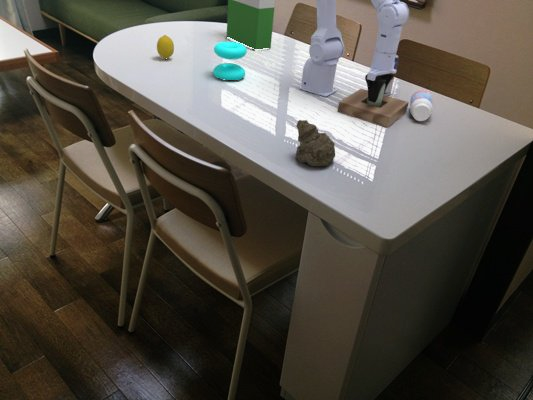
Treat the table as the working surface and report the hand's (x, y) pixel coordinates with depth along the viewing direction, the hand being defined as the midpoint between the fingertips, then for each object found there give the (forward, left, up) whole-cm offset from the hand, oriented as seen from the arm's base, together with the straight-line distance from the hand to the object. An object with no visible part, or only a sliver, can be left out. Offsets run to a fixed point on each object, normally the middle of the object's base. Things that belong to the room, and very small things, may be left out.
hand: (375, 99), depth 138 cm
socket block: (0, 0, -4) cm, 4 cm away
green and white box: (-64, +29, -4) cm, 70 cm away
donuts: (-46, -7, -4) cm, 47 cm away
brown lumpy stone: (+3, -38, -4) cm, 38 cm away
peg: (0, 0, -2) cm, 2 cm away
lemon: (-71, -9, -4) cm, 72 cm away
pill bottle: (+10, +13, -1) cm, 16 cm away
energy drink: (-4, +17, -4) cm, 18 cm away
